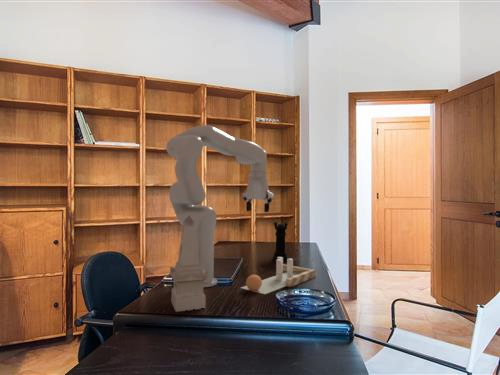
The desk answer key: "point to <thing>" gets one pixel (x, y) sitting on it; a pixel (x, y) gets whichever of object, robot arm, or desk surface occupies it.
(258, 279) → the ball
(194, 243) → the miniature monument
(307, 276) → the backstop
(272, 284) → the lane
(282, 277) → the pin
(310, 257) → the desk surface
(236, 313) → the desk surface
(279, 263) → the pin front
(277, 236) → the chess piece
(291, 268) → the pin
